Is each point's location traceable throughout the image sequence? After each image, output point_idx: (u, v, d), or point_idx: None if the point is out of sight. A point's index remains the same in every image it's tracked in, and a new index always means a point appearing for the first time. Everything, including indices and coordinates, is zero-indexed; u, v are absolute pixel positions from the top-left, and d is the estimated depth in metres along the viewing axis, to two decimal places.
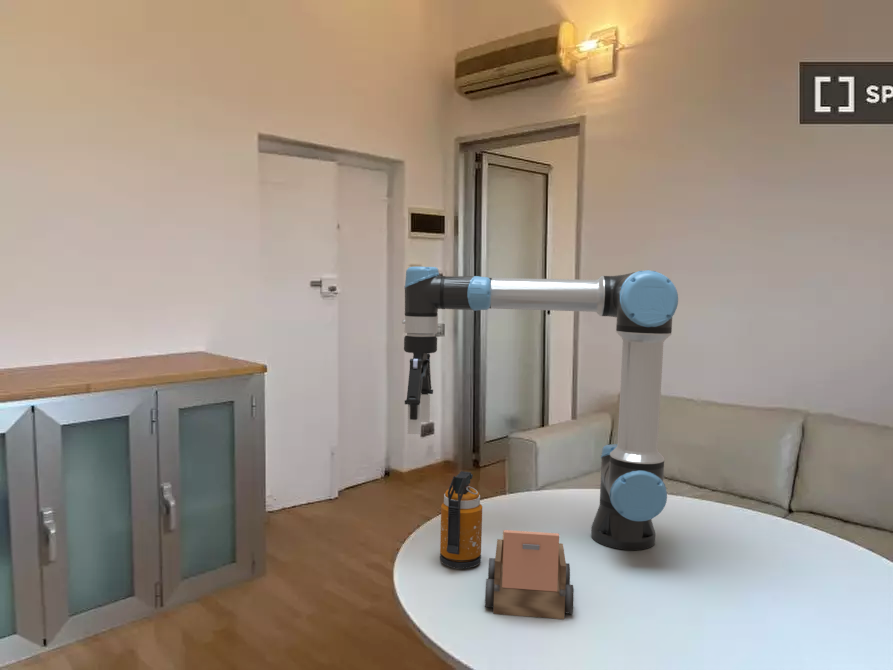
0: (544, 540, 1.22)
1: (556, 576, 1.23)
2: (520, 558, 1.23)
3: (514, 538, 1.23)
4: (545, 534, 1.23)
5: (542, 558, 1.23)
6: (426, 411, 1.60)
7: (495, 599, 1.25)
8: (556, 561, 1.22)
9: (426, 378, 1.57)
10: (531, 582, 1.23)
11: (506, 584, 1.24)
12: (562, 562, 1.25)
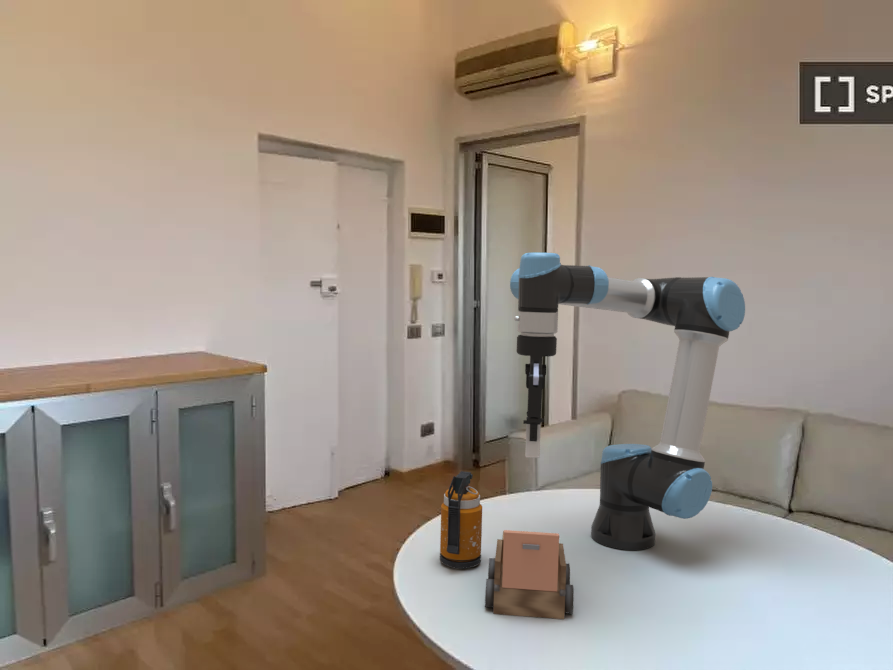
0: (544, 540, 1.22)
1: (556, 576, 1.23)
2: (520, 558, 1.23)
3: (514, 538, 1.23)
4: (545, 534, 1.23)
5: (542, 558, 1.23)
6: None
7: (495, 599, 1.25)
8: (556, 561, 1.22)
9: None
10: (531, 582, 1.23)
11: (506, 584, 1.24)
12: (562, 562, 1.25)
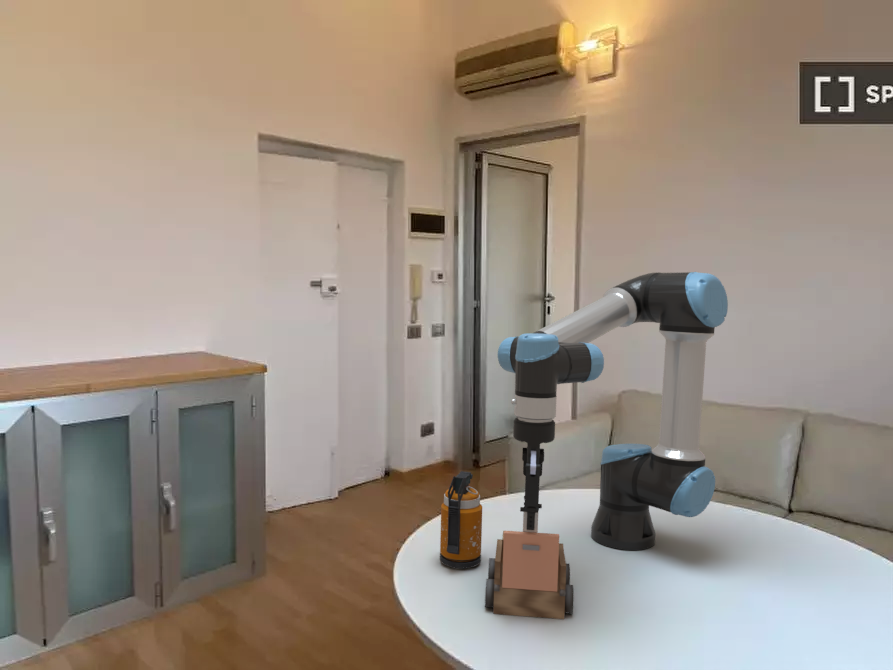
0: (544, 541, 1.22)
1: (556, 576, 1.23)
2: (520, 558, 1.23)
3: (514, 539, 1.23)
4: (545, 535, 1.22)
5: (542, 559, 1.22)
6: (534, 531, 1.24)
7: (495, 599, 1.25)
8: (556, 561, 1.22)
9: None
10: (531, 582, 1.23)
11: (506, 585, 1.24)
12: (562, 562, 1.25)
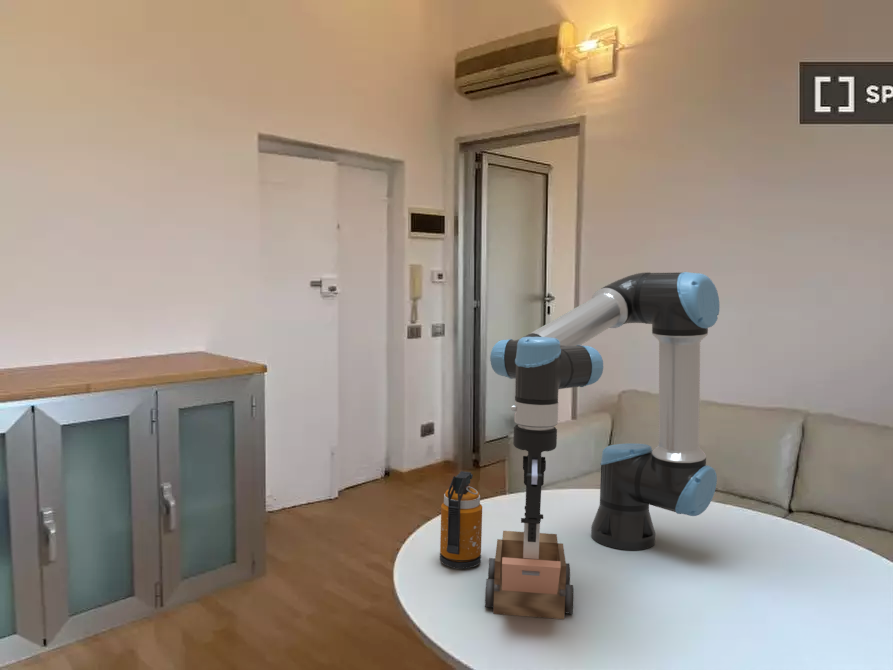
0: (544, 569, 1.16)
1: (556, 587, 1.21)
2: (519, 577, 1.19)
3: (513, 567, 1.17)
4: (546, 564, 1.16)
5: (542, 578, 1.19)
6: None
7: (495, 599, 1.25)
8: (557, 580, 1.19)
9: None
10: (531, 589, 1.22)
11: (506, 589, 1.23)
12: (562, 562, 1.25)
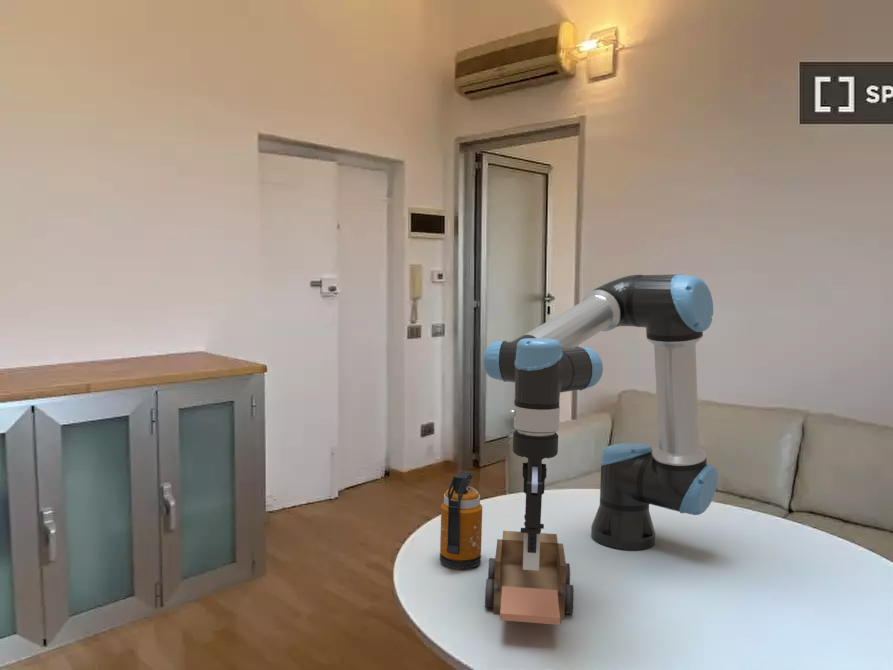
0: None
1: None
2: None
3: None
4: (545, 621, 1.13)
5: None
6: None
7: (495, 599, 1.25)
8: None
9: None
10: None
11: None
12: (562, 562, 1.25)
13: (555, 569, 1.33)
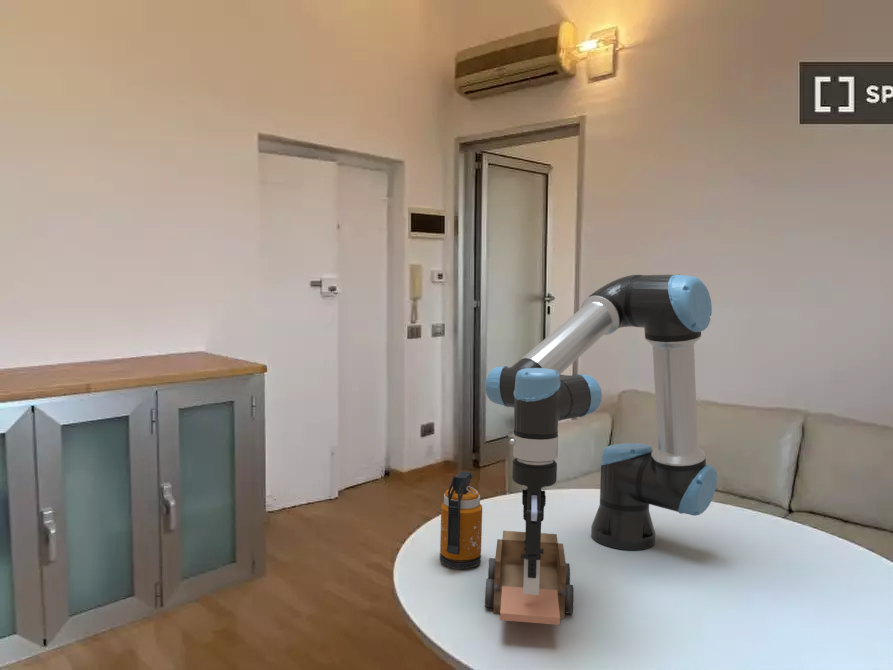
0: None
1: None
2: None
3: None
4: (545, 621, 1.13)
5: None
6: None
7: (495, 599, 1.25)
8: None
9: None
10: None
11: None
12: (562, 562, 1.25)
13: (555, 569, 1.33)
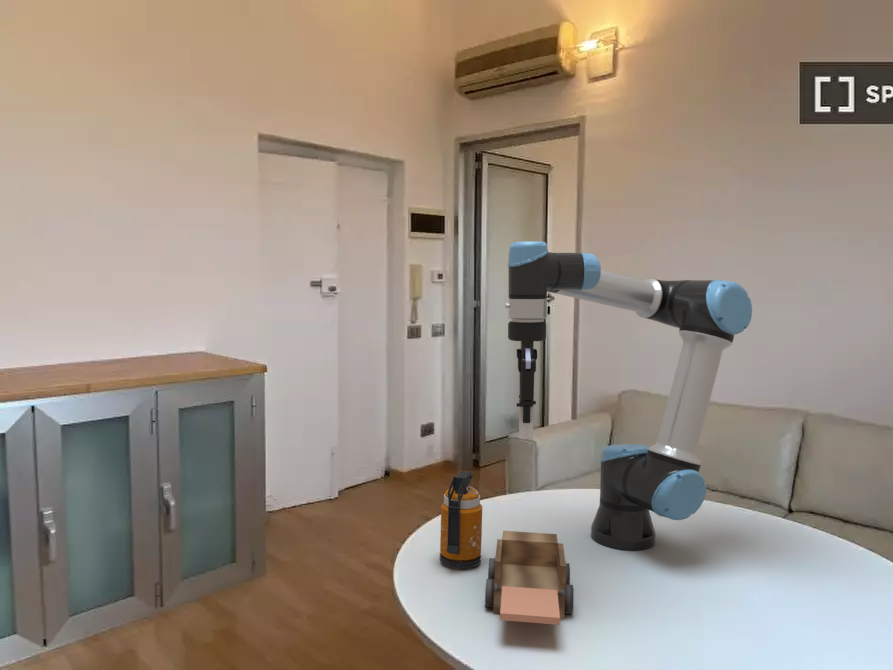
0: None
1: None
2: None
3: None
4: (545, 621, 1.13)
5: None
6: None
7: (495, 599, 1.25)
8: None
9: None
10: None
11: None
12: (562, 562, 1.25)
13: (555, 569, 1.33)
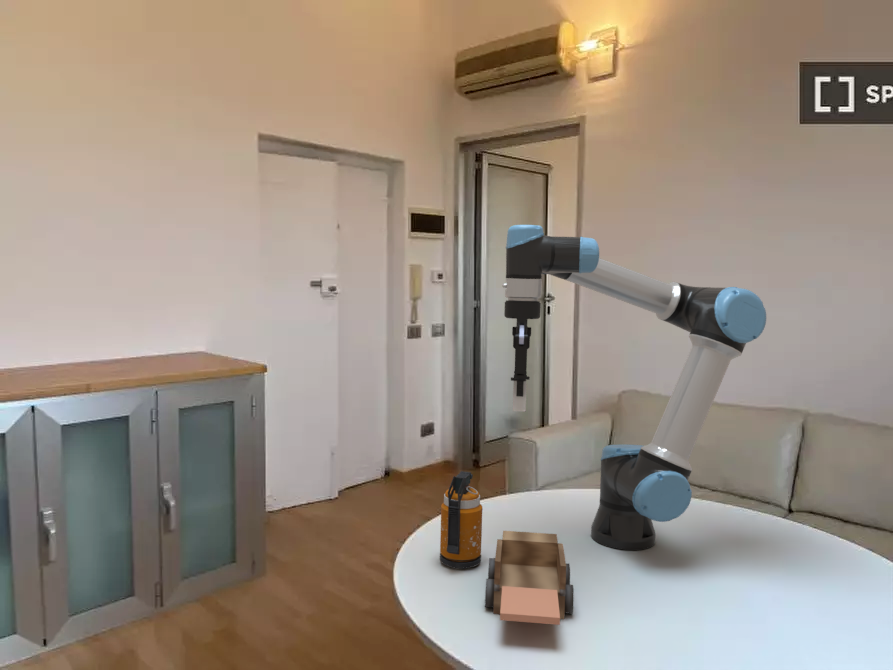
0: None
1: None
2: None
3: None
4: (545, 621, 1.13)
5: None
6: None
7: (495, 599, 1.25)
8: None
9: None
10: None
11: None
12: (562, 562, 1.25)
13: (555, 569, 1.33)
